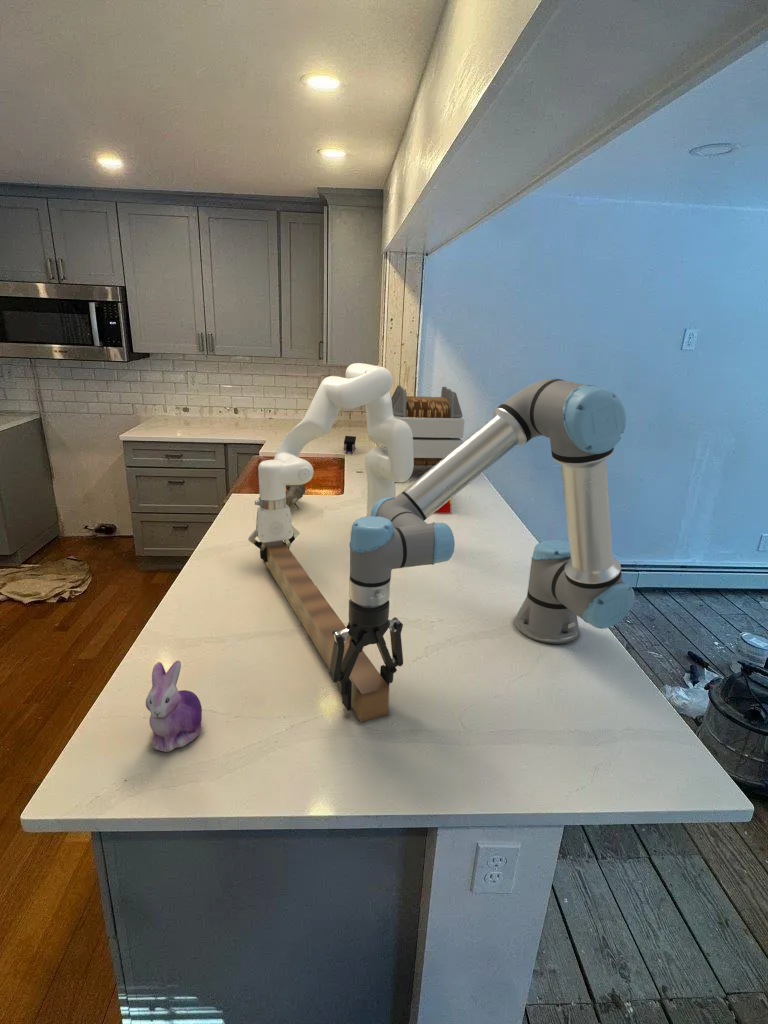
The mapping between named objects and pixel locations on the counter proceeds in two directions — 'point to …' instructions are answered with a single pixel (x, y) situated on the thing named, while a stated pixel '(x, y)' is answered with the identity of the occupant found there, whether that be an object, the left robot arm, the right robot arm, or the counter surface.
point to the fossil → (294, 494)
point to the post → (326, 630)
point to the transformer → (430, 424)
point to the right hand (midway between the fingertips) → (365, 701)
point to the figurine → (172, 710)
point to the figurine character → (349, 444)
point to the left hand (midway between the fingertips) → (275, 558)
